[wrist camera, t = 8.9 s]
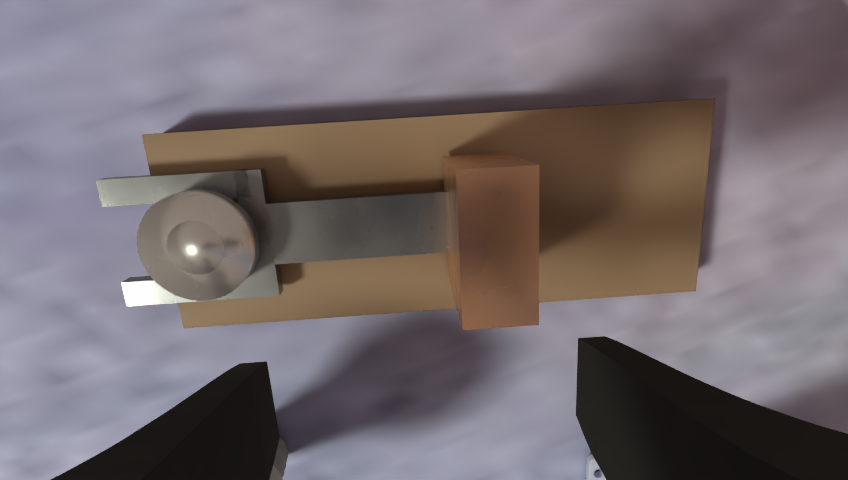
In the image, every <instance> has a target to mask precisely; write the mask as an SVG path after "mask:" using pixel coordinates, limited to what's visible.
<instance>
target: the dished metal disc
mask: <svg viewBox="0 0 848 480" xmlns="http://www.w3.org/2000/svg"><path fill="white" fill-rule="evenodd" d="M259 246H260V245H259V237H258V233H257V230H256V227H255V225H254V223H253V221H252V219H251V217H250V216H249V215H248V213H247V212H246V211H245V210H244V209H243V207H241V206H240V205H239V204H238V203H237V202H235V201H234V200H233V199H231V198H229V197H228V196H226V195H224V194H221V193H219V192H216V191H212V190H206V189H191V190H185V191H182V192H179V193H176V194H173V195H170V196H167V197H165V198H163V199H161V200H159V201H158V202H156V203H155V204H154V205H153V206H151V207H150V209H149V210H148V211H147V212H146V214H145V215H144V217H143V218H142V221H141V223H140V225H139V229H138V235H137V247H138V253H139V256H140V259H141V261H142V264H143V266H144V268H145V269H146V271H147V272H148V274H149V275H150V276H151V278H152V279H153V280H154V281H155V282H156V283H157V284H158V285H160V286H161V287H162V288H164V289H165V290H167V291H168V292H170V293H172V294H174V295H176V296H179V297H182V298H185V299H189V300H196V301H207V300H214V299H217V298H221V297H223V296H226V295H227V294H229V293H231V292H233V291H234V290H235V289H236V288H238V287H239V286H240V284H241V283H242V282H243V281H244V280H245V279H246V278H247V277H248V276H249V275H250V274H251V272H252V271H253V269H254V267H255V265H256V263H257V260H258V256H259Z"/></svg>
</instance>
